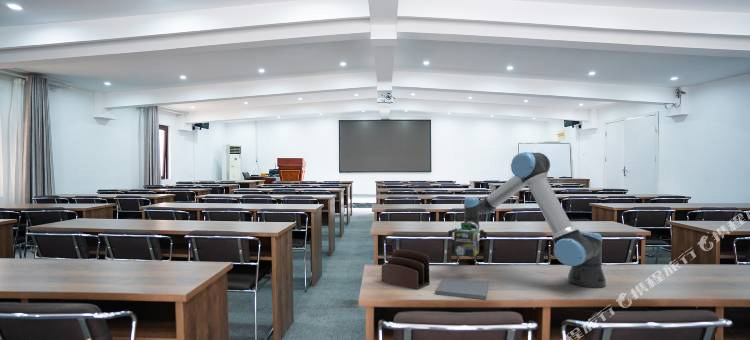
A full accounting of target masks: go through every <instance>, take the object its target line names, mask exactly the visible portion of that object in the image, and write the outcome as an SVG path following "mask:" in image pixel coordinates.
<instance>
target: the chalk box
mask: <svg viewBox="0 0 750 340" xmlns="http://www.w3.org/2000/svg"><path fill="white" fill-rule="evenodd" d="M464 225H468V228H465V227H464ZM479 230H480V229H479ZM479 230H478V229H472V228H471V223H464V222H460V228H457V230H455V231H454V242H453V243H454V255H455V256H462V257H471V258H474V257H476V256H477V255H478V254H479V253H480V240H479V241H477V235H478V233H479Z"/></svg>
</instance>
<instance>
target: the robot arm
mask: <svg viewBox="0 0 750 340" xmlns="http://www.w3.org/2000/svg"><path fill="white" fill-rule="evenodd" d="M550 168H551V162H550V159H549V158H548V156H547V155H546V154H544V153H542V152H530V151H524V152H520V153H516V155H515V156H513V158H512V160H511V163H510V170H511V173H512V174H513V176H512V177H510V178H508V180H507V181H506V182H503V184H501V185H500V186H499V187H497V188H496V189H494V190H493V191H492V192H491V193H490V194H489V195H487V196H486V197H485V198H483V199H480V200H479V198H478V197H475V196H473V197H472V196H471V197H468V196H467V197H465V198H464V202H463V203H464V204H463V206H464V207H463V210H464V211H463V212H464V214H463V215H464V216H463V217H464V219H463V223H471V228H472V229H478V230H479V233H478V235H477V241H479V242H480V240H481V239H487V237H488V236H487V235H488V234H487V233H488V232H486V231H484V229H480V215H484V214H485V215H486V214H489V215H490V214H491V213H494V212H495V211H496V210H497V208H498V207H499V206H501V204H503V203H505V202H506V201H508V199H510V198H511V197H513V196H514V195H516V194H517V193H518V192H520V191H521V190H522V189H523V188H525V187H528V189H529V191H530V192H531V194H532V196H533V199H534V200H535V202H536V204H537V206H538V209H540V212H541V213H542V215H543V217H544V219H545V221H546V223H547V225H548V227H549V229H550V230H551V232H552V233H551V234H552V235H553V236H552V239H551V241H552V242H553V244H554V247H553V253H554V256H555V258H556V259H557V261H558V262H560V263H561V264H563V265H565V266H568V267H570V269H569V272H568V275H567V281H568V283H570V284H572V285H576V286H579V287H584V288H595V289H596V288H597V289H599V288H604V287H606V285H607V284H606V283H607V281H606V277H605V274H604V271H603V269H602V268H603V267H602V265H603V264H602V259H603V258H602V256H603V255H602V254H603V253H602V252H603V249H602V248H603V239H602V238H603V237H602V234H600V233H598V232H590V231H589V232H588V231H581V230H580V229H578V228H576V227H574V226H573V224H572V223H571V221H570V219H569V217H568V215H567V213H566V212H565V210H564V208H563V206H562V205H561V202H560V201H559V199H558V196H557V195H556V194H555V192H554V190H553V187H552V186H551V185H550V182H549V180H548V179H547V178H548V175H549V174H548V172H549V171H550ZM464 227H465V228H468V225H464ZM457 229H458V228H456V227H455V228H454V229H450V230H448V233H447V235H448V237H451V239H452V241H453V240H454V231H455V230H457Z"/></svg>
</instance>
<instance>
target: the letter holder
mask: <svg viewBox="0 0 750 340" xmlns="http://www.w3.org/2000/svg"><path fill="white" fill-rule="evenodd" d="M380 276H381V280H380V281H381V282H384V283H388V284H393V285H397V286H401V287H404V288H405V287H406V288H409V289H413V290H417V291H419V290H420V289H422V288H424V287H427V286H429V285H430V283H431V282H430V280H431V279H430V256H429V255H428V254H427V253H426V254H425V253H424V252H419V251H415V250H410V249H402V248H401V249H400V248H397V249H393V250H392V256H389V257H388V258H387V263H383V264H381V275H380Z"/></svg>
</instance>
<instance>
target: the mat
mask: <svg viewBox="0 0 750 340" xmlns="http://www.w3.org/2000/svg"><path fill="white" fill-rule="evenodd" d="M488 290H489V281H485V280H484V281H483V280H476V279H474V280H473V279H464V278H456V277H455V278H453V277H442V278H441V280H440V281H439V284H438V285H437V287H436V289H435V293H434V295H439V296H440V295H441V296H447V295H448V297H457V296H460V297H459V298H466V297H468V298H470V299H475V298H478V299H479V300H485V299H486V300H487V295H488ZM478 299H477V300H478Z"/></svg>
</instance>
